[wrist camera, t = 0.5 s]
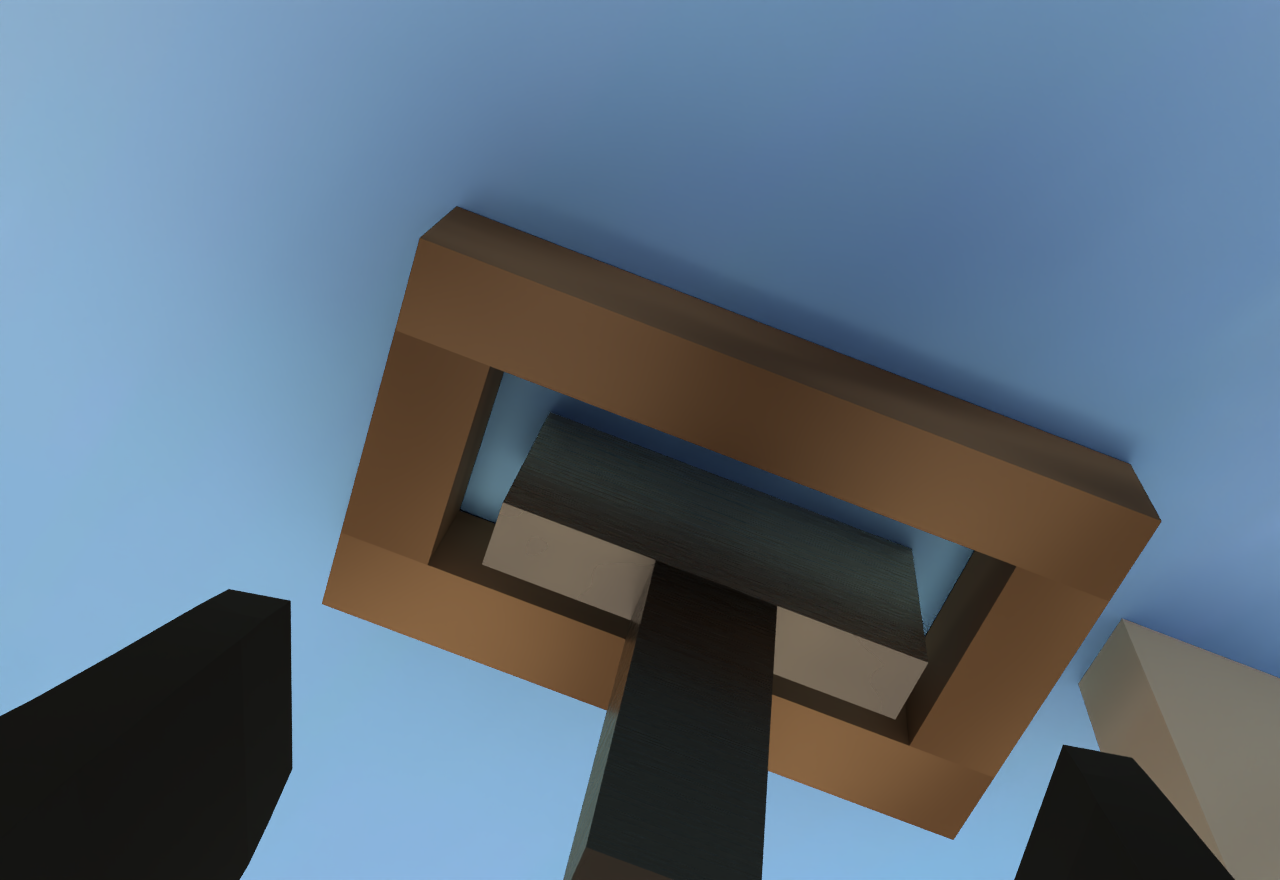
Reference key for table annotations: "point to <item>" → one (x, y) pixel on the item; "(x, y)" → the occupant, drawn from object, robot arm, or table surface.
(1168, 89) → the table surface
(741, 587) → the turner
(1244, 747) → the tile
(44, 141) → the table surface
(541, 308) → the frame
